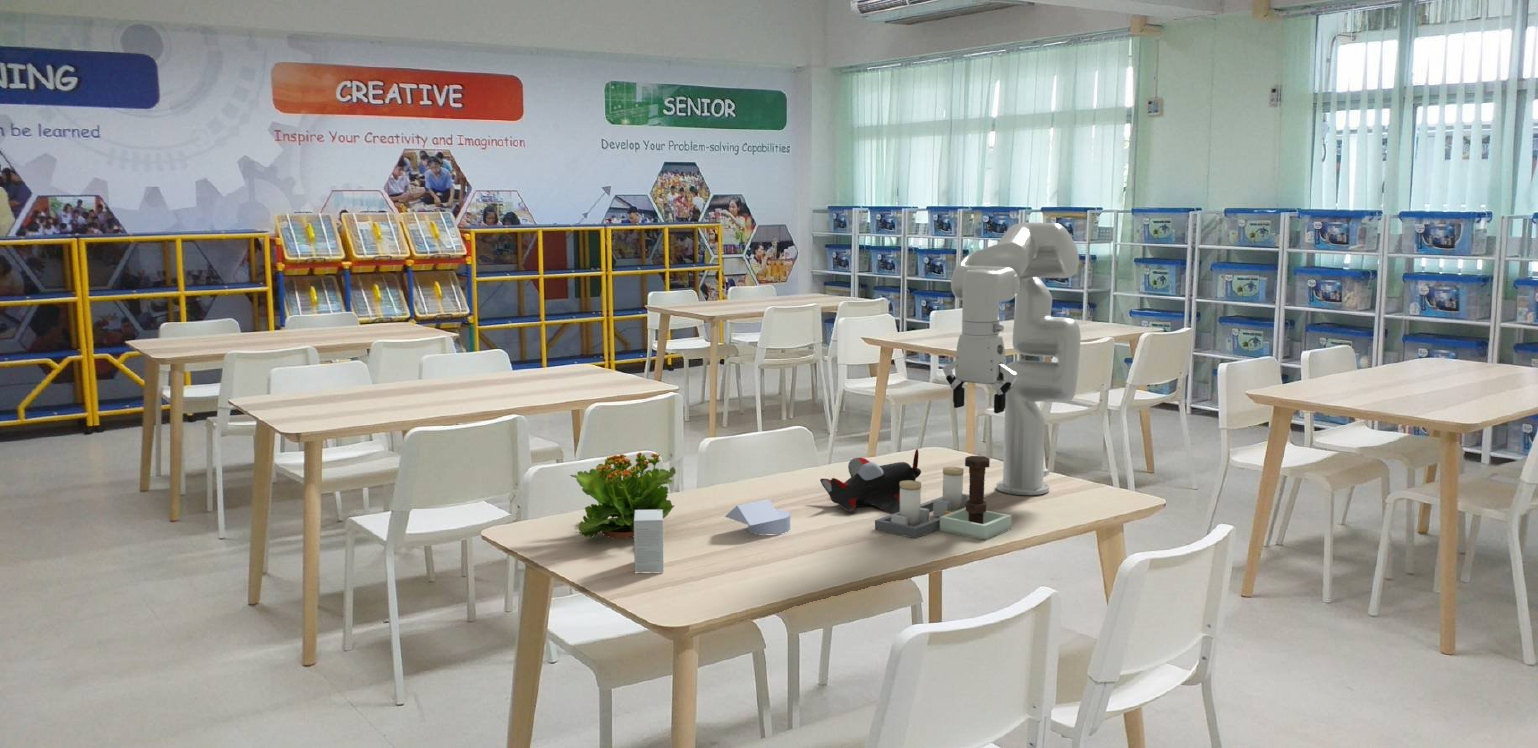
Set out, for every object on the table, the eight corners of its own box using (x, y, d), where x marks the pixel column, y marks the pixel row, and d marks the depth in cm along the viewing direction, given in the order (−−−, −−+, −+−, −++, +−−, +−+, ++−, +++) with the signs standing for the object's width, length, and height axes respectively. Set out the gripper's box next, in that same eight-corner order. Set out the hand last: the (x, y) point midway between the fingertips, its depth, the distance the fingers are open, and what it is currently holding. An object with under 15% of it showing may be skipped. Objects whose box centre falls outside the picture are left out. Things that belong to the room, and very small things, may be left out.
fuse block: (874, 529, 252) (875, 513, 252) (945, 503, 273) (945, 489, 273) (917, 538, 245) (917, 522, 245) (986, 511, 266) (986, 496, 266)
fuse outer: (906, 524, 256) (907, 479, 255) (924, 528, 253) (925, 482, 252) (894, 528, 253) (895, 483, 251) (912, 532, 250) (913, 486, 248)
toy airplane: (807, 498, 285) (803, 445, 278) (893, 470, 292) (890, 418, 285) (860, 558, 262) (856, 502, 255) (951, 526, 269) (950, 471, 262)
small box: (635, 561, 230) (634, 509, 229) (663, 560, 231) (663, 508, 229) (634, 574, 222) (632, 520, 221) (663, 573, 223) (662, 519, 221)
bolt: (987, 531, 248) (989, 461, 246) (963, 529, 249) (964, 460, 247) (987, 523, 254) (989, 455, 252) (964, 522, 255) (965, 454, 253)
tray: (966, 520, 259) (966, 506, 259) (1011, 529, 252) (1011, 515, 252) (939, 530, 251) (939, 517, 250) (984, 540, 244) (985, 526, 243)
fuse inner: (948, 508, 269) (949, 465, 267) (965, 512, 266) (967, 468, 265) (937, 512, 265) (939, 469, 264) (955, 516, 262) (957, 472, 261)
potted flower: (559, 522, 259) (556, 444, 256) (663, 511, 267) (661, 436, 264) (583, 553, 235) (581, 468, 233) (696, 541, 244) (695, 458, 241)
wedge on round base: (750, 541, 244) (798, 530, 252) (750, 509, 243) (798, 499, 251) (724, 531, 251) (772, 521, 259) (724, 501, 250) (772, 491, 258)
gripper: (1026, 330, 242) (1024, 411, 245) (954, 324, 254) (953, 402, 256) (1008, 334, 237) (1006, 417, 240) (935, 327, 248) (934, 407, 251)
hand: (978, 409), depth 248 cm, fingers open, 9 cm apart
